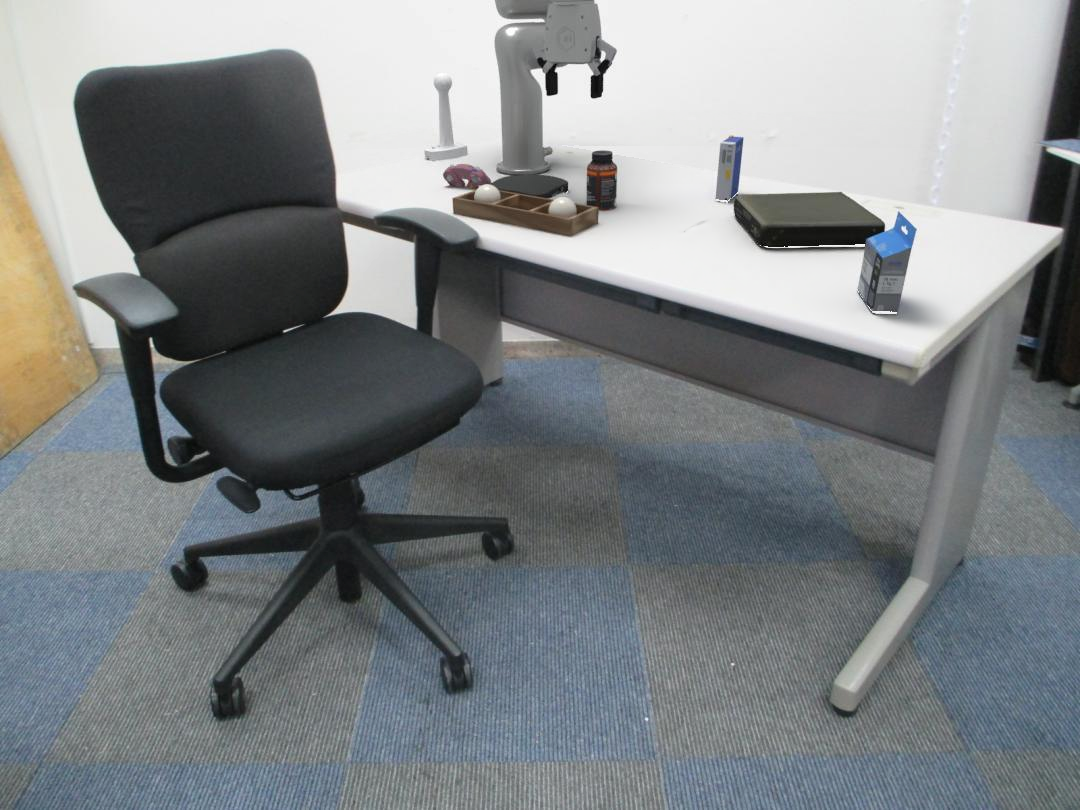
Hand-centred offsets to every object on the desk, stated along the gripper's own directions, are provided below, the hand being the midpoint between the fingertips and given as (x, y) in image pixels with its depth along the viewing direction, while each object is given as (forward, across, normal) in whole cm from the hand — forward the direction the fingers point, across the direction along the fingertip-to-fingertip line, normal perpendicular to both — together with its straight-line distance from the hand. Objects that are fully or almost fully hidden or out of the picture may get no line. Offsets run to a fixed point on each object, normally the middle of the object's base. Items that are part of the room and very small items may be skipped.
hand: (573, 96), depth 155 cm
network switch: (+23, +44, +8) cm, 50 cm away
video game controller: (+21, -28, +1) cm, 35 cm away
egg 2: (+21, +6, -14) cm, 25 cm away
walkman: (+22, +23, +23) cm, 39 cm away
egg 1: (+20, -12, -13) cm, 27 cm away
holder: (+21, -3, -13) cm, 25 cm away
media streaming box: (+21, -14, +5) cm, 26 cm away
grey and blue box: (+23, +64, -21) cm, 71 cm away
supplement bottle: (+22, +5, +1) cm, 22 cm away
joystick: (+20, -54, +25) cm, 63 cm away
